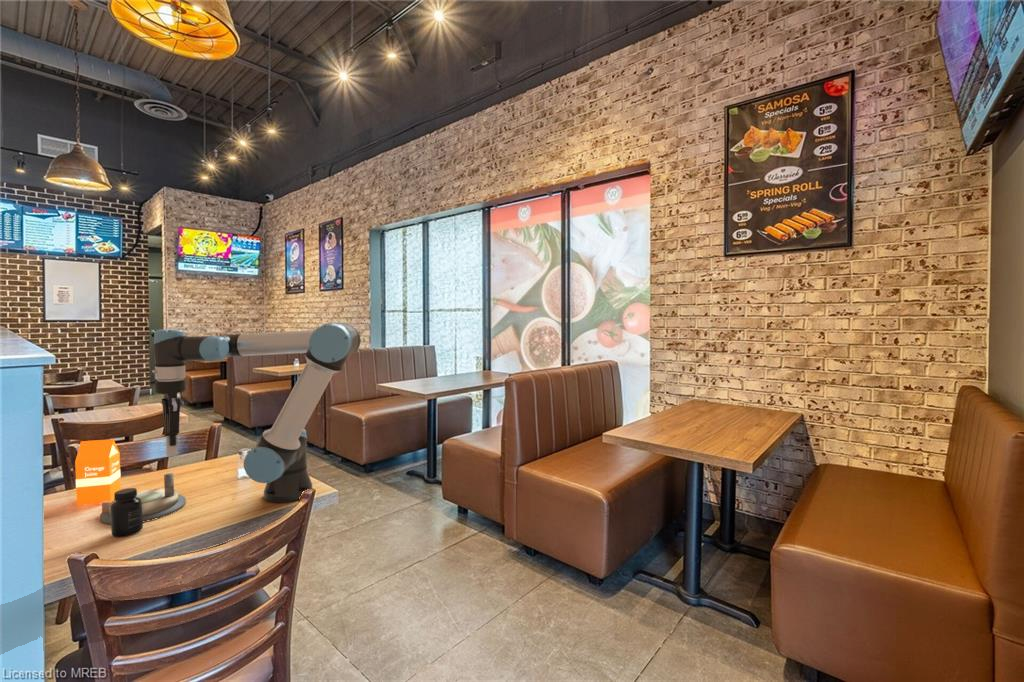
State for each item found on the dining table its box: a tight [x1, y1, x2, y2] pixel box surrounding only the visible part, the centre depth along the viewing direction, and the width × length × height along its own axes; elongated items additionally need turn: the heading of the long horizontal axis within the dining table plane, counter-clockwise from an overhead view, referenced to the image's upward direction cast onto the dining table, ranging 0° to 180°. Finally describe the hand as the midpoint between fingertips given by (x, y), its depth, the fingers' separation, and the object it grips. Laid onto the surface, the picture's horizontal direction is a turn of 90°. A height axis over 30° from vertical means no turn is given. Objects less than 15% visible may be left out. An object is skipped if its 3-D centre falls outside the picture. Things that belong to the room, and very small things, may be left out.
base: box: [99, 494, 187, 526], centre depth 142 cm, size 21×21×4 cm
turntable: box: [108, 472, 179, 516], centre depth 142 cm, size 17×17×9 cm
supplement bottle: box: [110, 487, 144, 538], centre depth 128 cm, size 7×7×12 cm
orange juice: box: [74, 438, 122, 506], centre depth 150 cm, size 8×9×20 cm
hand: (172, 455), depth 140 cm, fingers closed
